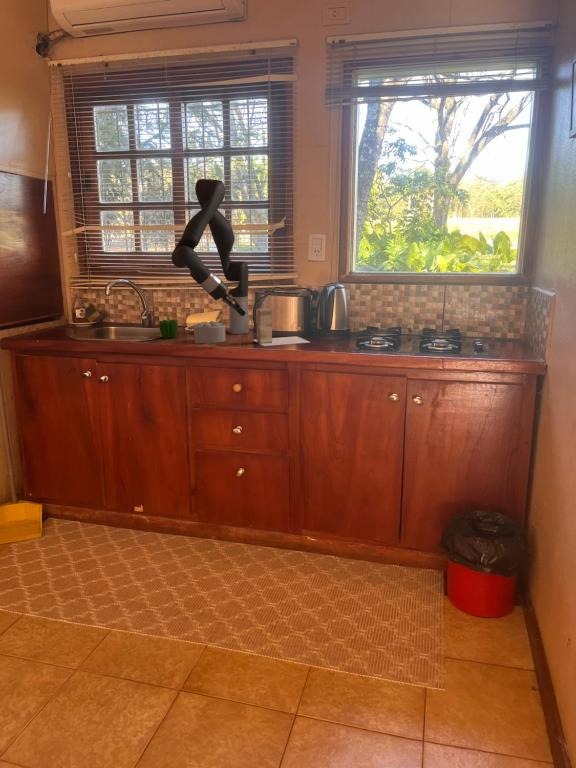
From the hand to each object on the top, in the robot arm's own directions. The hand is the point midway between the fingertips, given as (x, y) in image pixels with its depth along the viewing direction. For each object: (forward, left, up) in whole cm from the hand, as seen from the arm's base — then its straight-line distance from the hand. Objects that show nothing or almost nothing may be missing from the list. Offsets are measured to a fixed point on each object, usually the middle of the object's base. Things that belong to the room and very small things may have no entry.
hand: (243, 314), depth 227 cm
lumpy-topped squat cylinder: (-14, -11, -13) cm, 22 cm away
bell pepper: (-32, -26, -13) cm, 43 cm away
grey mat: (0, +16, -13) cm, 21 cm away
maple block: (0, +9, -12) cm, 15 cm away
